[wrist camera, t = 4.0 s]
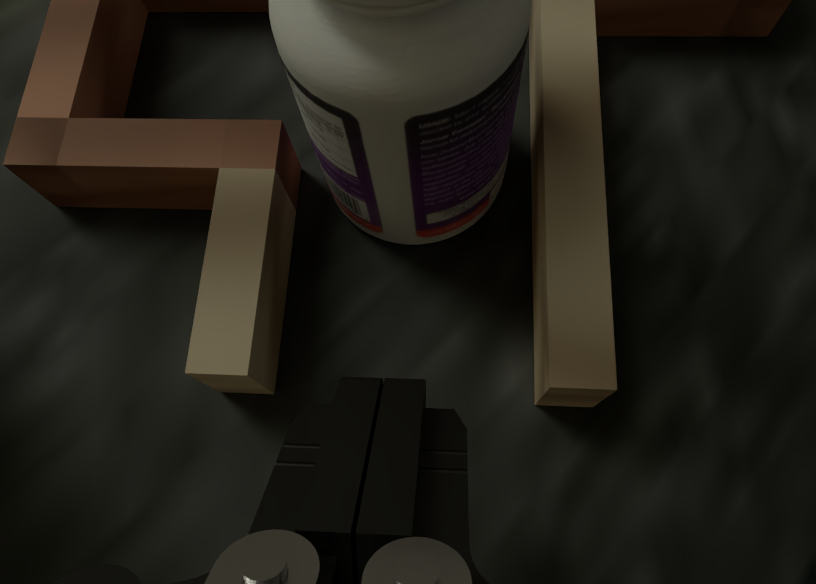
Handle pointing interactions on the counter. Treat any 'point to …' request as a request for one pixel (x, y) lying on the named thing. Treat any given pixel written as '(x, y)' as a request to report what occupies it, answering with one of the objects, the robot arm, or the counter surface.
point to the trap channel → (280, 174)
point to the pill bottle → (406, 105)
